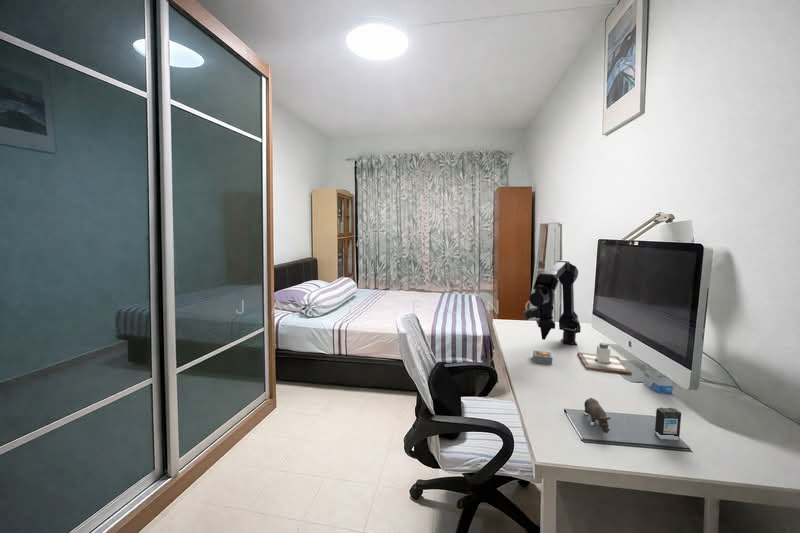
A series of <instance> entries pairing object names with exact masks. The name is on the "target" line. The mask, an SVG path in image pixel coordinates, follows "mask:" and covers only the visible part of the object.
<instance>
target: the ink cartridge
mask: <svg viewBox="0 0 800 533" xmlns="http://www.w3.org/2000/svg"><path fill="white" fill-rule="evenodd" d="M681 422H682V412H681V411H679V410H678V409H676V408H673V407H657V408H656V410H655V424H654V425H655V426H654V432H655V431H656V432H658V433H659V434H660V435H674V436H678V437H679V438H680V436H681V435H680V433H681V432H680V431H681Z"/></svg>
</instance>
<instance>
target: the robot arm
mask: <svg viewBox="0 0 800 533" xmlns="http://www.w3.org/2000/svg"><path fill="white" fill-rule="evenodd" d="M578 276H579V270H578V268H577V266H576V265H574V264H572V263H570V261H568V260H560V259H558V260H557V261H556V262H555V264H554V265H553V266H551V268H549V269H547V270H545V271H541V272H540V273H539V274H538V275H537V276H536V278H535V282H534V285H533V289H532V290H534V292H533V293H531V294H530V296H529V302H530V304H531V305H532V306H533V307H532V308H528V309H524V310H523V315H524V317H525V320H530V319H533V318H535V319H538V320H536V321H535V322H536V325H537V327H538V328H539V329H540V333H541V339H542V341H543V340H546V338H547V336H548V334H549V333H550V331H551V330H554V329H555V330H556V323H555V321H554V317H553V312H554V298H555V297H554V296H555V293H554V292H555V290H556V289H557V287H558V284H559V283H560V284H561V285H562V314H561V315H560V316H559V319H558V328H559V330H560V331H562V338H561V339H560V341H561V343H562V344H565V345H574V346H577V345H578V343H577V341H576V339H577V337H576V336H577V334H578V333H579V334H580V333H581V324H580V321H579V316H578V314H577V313H576V311H575V307H574V306H575V302H574V300H575V299H574V292H575V291H574V283H575V282H576V280H577V279H578Z"/></svg>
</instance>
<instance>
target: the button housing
mask: <svg viewBox="0 0 800 533" xmlns="http://www.w3.org/2000/svg"><path fill="white" fill-rule="evenodd" d="M538 351H539V350H532V359H533V363H535V364H543V365H550V366H551V365H553V355H552V352H551V351H546V352H547V353H548V356H541V355H537V354H538ZM542 351H543V350H542ZM543 352H545V351H543Z"/></svg>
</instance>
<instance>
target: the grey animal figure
mask: <svg viewBox="0 0 800 533" xmlns="http://www.w3.org/2000/svg"><path fill="white" fill-rule="evenodd" d="M583 406H584V411H583V412H586V413H588V414H589V415H588V416H590V418H591V421H592V422H595V423H596V421H597V422H598V427H599V426H600V427H601V428H600V427H599V428H600V429H601V430H602V433H604V432H605V433H606V434H608V433H609V431H610V428H609V426H610V425H609V423H608V420H611V417H608V416H607V413H606V412H605V410H604V409H603V407H602V405H600V403H599V400H597V399H595V398H593V397H589V398H587V399H586V400H585V401H584V405H583ZM605 433H604V434H605Z"/></svg>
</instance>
